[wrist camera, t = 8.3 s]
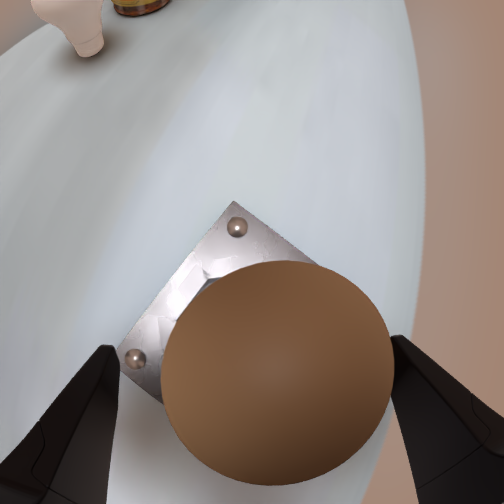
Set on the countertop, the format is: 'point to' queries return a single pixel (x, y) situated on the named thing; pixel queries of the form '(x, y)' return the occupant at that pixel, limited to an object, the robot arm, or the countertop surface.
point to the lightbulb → (75, 22)
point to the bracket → (198, 288)
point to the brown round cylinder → (277, 372)
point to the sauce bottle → (137, 6)
